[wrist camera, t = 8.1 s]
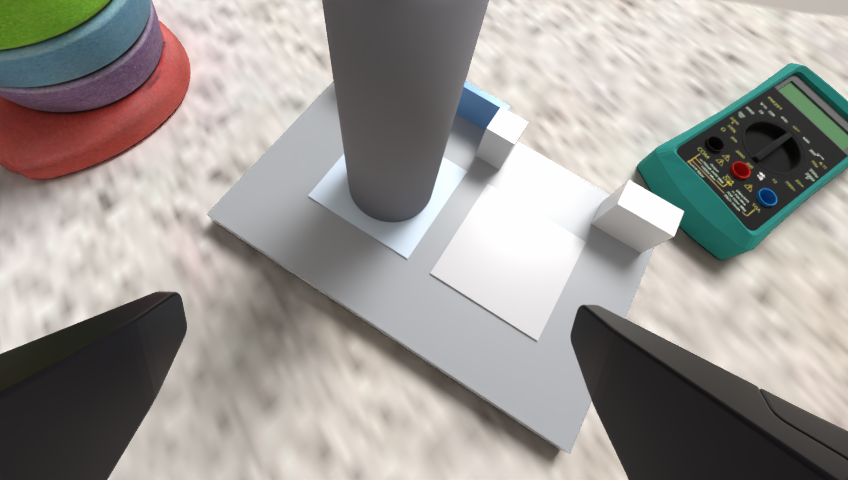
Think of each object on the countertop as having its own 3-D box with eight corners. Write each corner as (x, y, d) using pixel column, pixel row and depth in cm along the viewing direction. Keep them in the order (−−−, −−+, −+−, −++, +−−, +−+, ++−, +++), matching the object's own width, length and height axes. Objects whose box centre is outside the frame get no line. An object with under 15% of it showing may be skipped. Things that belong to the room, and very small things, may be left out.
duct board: (651, 231, 22) (697, 205, 19) (560, 449, 18) (600, 464, 15) (362, 64, 24) (360, 14, 21) (214, 222, 20) (182, 190, 17)
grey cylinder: (449, 189, 21) (563, -111, 8) (386, 238, 19) (404, -28, 7) (395, 133, 22) (422, -218, 9) (331, 177, 20) (255, -164, 8)
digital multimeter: (623, 173, 24) (654, 146, 21) (763, 83, 28) (805, 51, 26) (707, 270, 23) (753, 255, 20) (844, 160, 27) (897, 134, 24)
